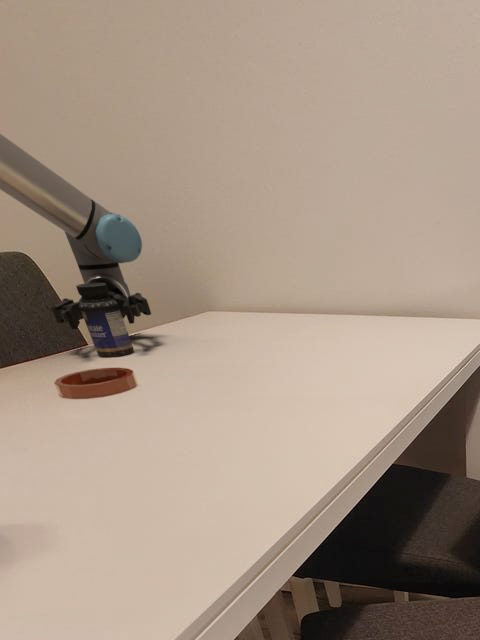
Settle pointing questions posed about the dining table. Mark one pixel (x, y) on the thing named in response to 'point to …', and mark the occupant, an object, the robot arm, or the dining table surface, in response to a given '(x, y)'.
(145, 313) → the robot arm
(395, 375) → the dining table surface
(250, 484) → the dining table surface
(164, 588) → the dining table surface
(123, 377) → the holder
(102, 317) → the pill bottle
